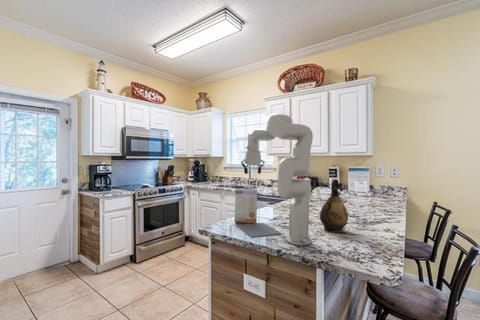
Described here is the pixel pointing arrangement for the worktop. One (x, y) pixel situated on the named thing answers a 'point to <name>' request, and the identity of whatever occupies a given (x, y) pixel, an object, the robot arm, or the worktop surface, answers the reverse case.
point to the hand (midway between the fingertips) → (252, 173)
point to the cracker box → (246, 205)
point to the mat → (258, 230)
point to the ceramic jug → (334, 211)
